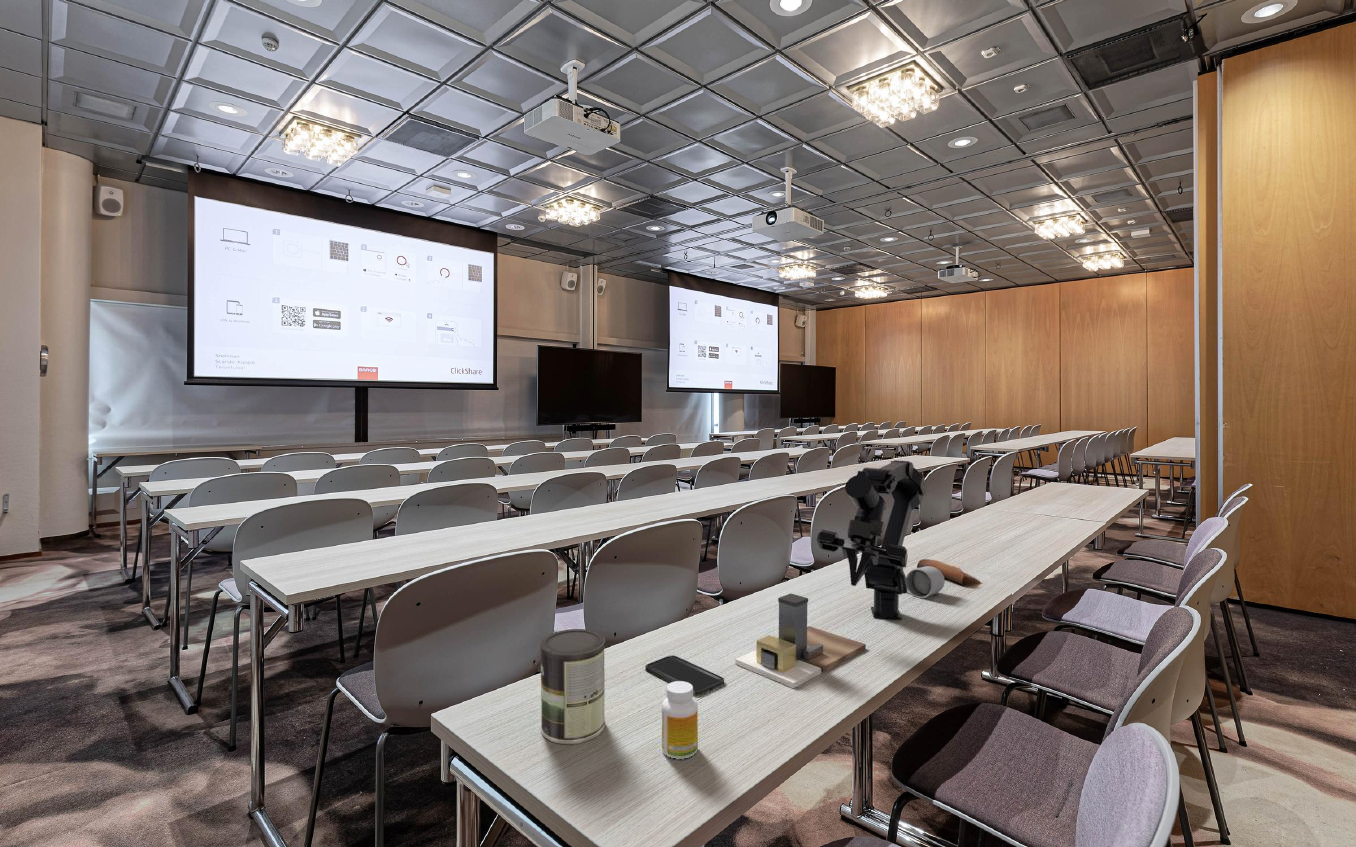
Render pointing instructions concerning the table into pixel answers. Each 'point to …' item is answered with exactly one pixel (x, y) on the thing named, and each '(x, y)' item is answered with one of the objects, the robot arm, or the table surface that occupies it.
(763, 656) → the dark square pillar
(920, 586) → the ceramic mug
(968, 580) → the orange brown tapered rod
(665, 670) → the phone
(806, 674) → the jamb plate
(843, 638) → the door leaf
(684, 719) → the supplement bottle
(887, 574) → the robot arm
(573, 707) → the coffee can
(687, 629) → the table surface
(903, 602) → the table surface
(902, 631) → the table surface
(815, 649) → the guide rails
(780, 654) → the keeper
